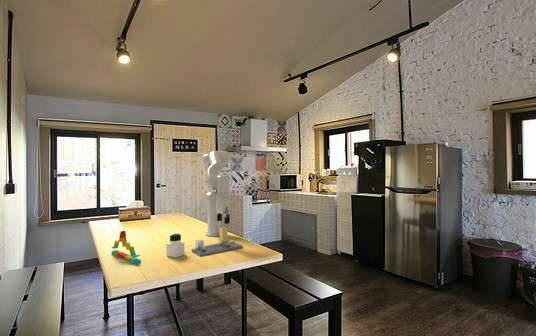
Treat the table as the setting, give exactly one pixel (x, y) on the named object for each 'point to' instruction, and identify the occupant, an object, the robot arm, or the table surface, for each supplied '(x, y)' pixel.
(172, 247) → the medicine bottle
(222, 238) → the brass slider
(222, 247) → the bolt plate
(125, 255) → the multicolored stepped triangle frame
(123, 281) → the table surface
